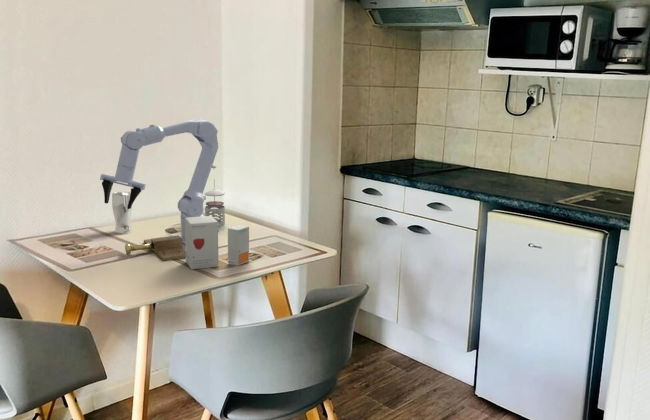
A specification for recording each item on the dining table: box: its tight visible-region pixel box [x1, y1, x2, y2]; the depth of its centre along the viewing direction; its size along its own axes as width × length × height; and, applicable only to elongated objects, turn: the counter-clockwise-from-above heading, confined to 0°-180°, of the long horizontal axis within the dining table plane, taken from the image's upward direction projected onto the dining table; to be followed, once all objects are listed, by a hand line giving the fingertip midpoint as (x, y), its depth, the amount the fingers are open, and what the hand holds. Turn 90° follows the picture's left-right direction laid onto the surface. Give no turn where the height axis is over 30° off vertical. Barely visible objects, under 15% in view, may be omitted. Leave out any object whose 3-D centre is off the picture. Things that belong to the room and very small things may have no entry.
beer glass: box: [111, 191, 133, 235], centre depth 225 cm, size 7×7×15 cm
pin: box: [124, 243, 154, 255], centre depth 201 cm, size 10×4×4 cm, turn 121°
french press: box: [202, 164, 228, 231], centre depth 234 cm, size 10×12×25 cm
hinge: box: [143, 234, 186, 262], centre depth 205 cm, size 10×24×4 cm, turn 31°
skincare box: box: [227, 224, 250, 267], centre depth 192 cm, size 6×4×12 cm
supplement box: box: [184, 215, 220, 270], centre depth 189 cm, size 9×9×15 cm
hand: (117, 205), depth 199 cm, fingers open, 7 cm apart
